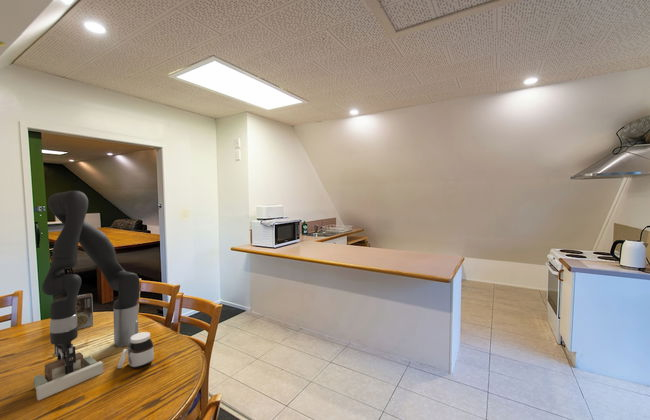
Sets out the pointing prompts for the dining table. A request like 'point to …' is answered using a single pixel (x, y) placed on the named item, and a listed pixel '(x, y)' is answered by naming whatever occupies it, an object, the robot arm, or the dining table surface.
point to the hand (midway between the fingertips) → (65, 369)
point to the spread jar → (138, 351)
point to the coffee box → (84, 310)
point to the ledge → (67, 379)
